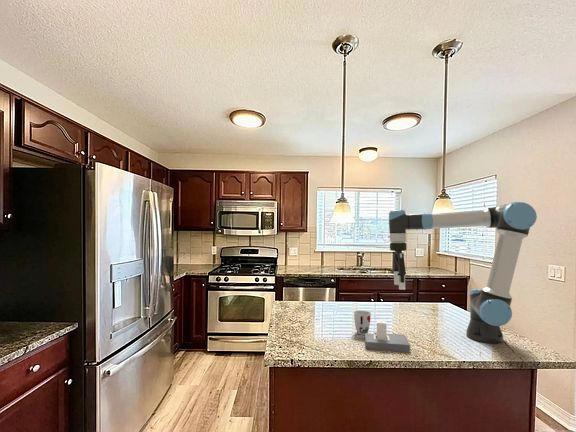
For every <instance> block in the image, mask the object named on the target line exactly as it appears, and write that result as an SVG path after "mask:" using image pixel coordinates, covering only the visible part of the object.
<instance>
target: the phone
mask: <svg viewBox="0 0 576 432" xmlns="http://www.w3.org/2000/svg"><path fill="white" fill-rule="evenodd" d="M374 334H377V332H374ZM386 335H399V336H406V335H405V334H396V333H386Z"/></svg>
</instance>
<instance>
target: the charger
mask: <svg viewBox="0 0 576 432" xmlns="http://www.w3.org/2000/svg"><path fill="white" fill-rule="evenodd" d="M376 333H377V339H386V334H387V321H386V320H376Z"/></svg>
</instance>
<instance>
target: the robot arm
mask: <svg viewBox="0 0 576 432" xmlns="http://www.w3.org/2000/svg"><path fill="white" fill-rule="evenodd" d="M537 214H538V213H537V212H536V209H535V208H534V207H533V206H532V205H530V204H529V203H526V202H523V201H513V202H509V203H506V204H503V205H501V204H500V205H499V206H493V207H485V209H483V210H481V209H480V210H469V211H468V210H467V211H466V210H465V211H455V212H454V211H453V212H439V213H429V212H427V213H426V212H423V213H406V210H404V209H394V210H390V211H389V212H388V226H389V227H388V229H389V230H388V231H389V235H388V238H389V242H390V243H389V250H390V251H392V252H393V253H392V254H393V258H392V259H393V260H392V261H393V262H392V269H393V284H394V285H395V286H398V290H401V291H402V290H403V291H405V290H406V274H407V271H406V265H405V264H406V263H405V253H404V252H405V251H407V248H408V247H407V243H406V242H407V231H410V230H411V231H412V230H414V231H415V230H416V231H418V230H420V231H421V230H431V229H432V230H433V229H450V228H451V229H452V228H453V229H454V228H467V227H468V228H469V227H474V228H475V227H486V228H488V229H490V228H491V229H493V228H494V229H496V232H497V233H498V234H499V235H498V239H497V242H496V247H495V251H494V255H493V259H492V263H491V266H490V271H489V275H488V279H487V282H486V283H487V284H486V286H484V287H483V288H481V289H480V288H472V289H470V291H469V313H470V315H469V317H470V319H469V322H468V325H467V327H466V337H467V338H469V339H471V340H473V341H477V342H481V343H486V344H487V343H488V344H500V343H503V342H504V335H503V331H502V329H501V327H502V326H505V325H506V324H508V323H509V322H510V321H511V319H512V317H513V311H512V307H511V304H512V300H513V297H512V295H511V294H510V291H511V286H512V284H513V279H514V275H515V271H516V266H517V263H518V259H519V255H520V251H521V246H522V242H523V239H525V238H527V237H529V233H530V230H531V227H533V226H534V225H535V223H536V221H537V220H538V218H537V217H538V216H537Z"/></svg>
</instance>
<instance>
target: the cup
mask: <svg viewBox="0 0 576 432" xmlns="http://www.w3.org/2000/svg"><path fill="white" fill-rule="evenodd" d="M353 317H354V325H355V330H356V333H357V334H358V335H362V336H363V335H364V336H365V333H369V330H370V325H371V317H372V316H371V312H370V311H367V310H355V311H354V312H353Z"/></svg>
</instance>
